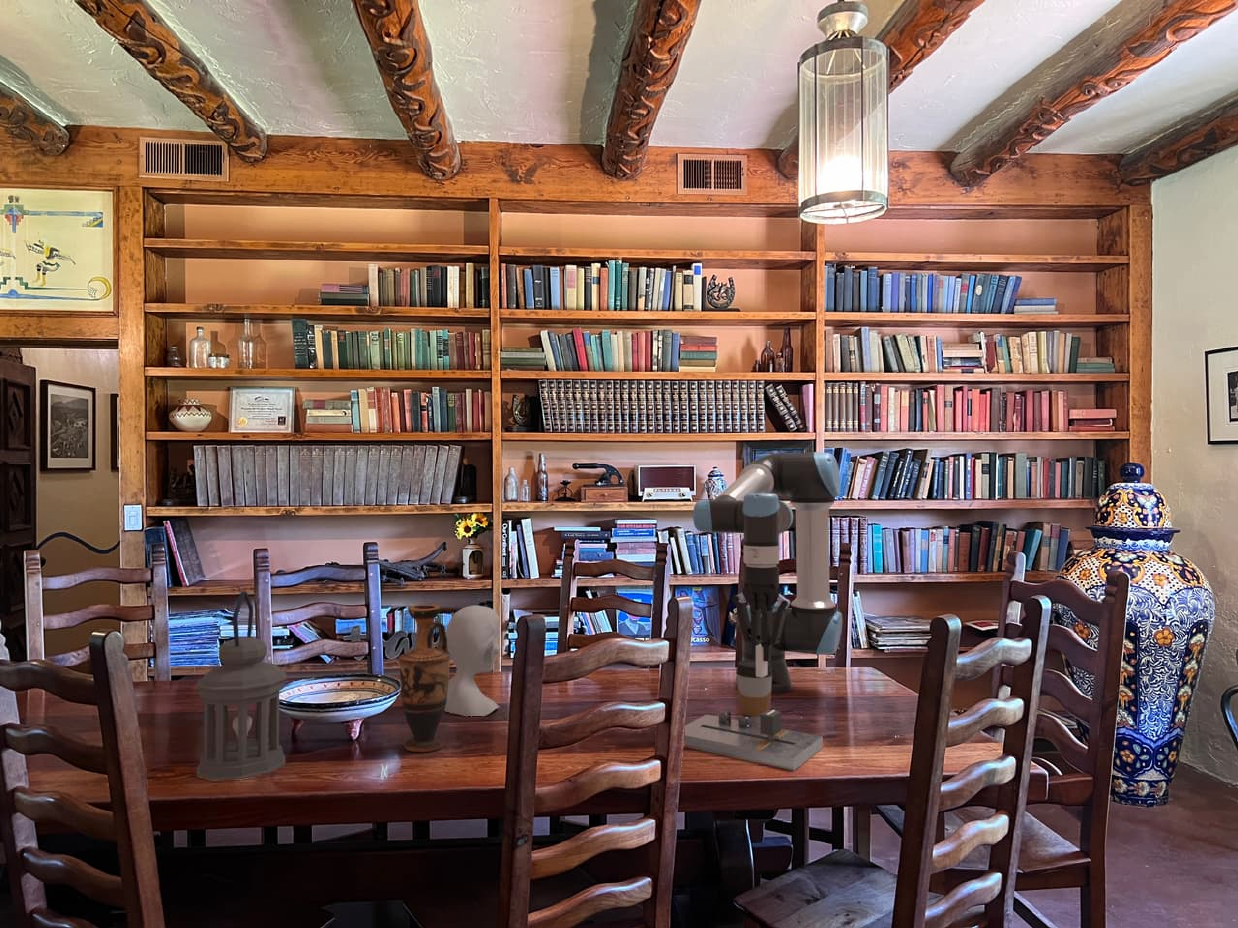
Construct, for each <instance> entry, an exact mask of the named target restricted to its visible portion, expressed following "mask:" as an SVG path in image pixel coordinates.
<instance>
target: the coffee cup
mask: <svg viewBox="0 0 1238 928" xmlns="http://www.w3.org/2000/svg"><path fill="white" fill-rule="evenodd" d="M735 673H736V677H737V679H738V688H737V697H738V698H737V699H738V712H739V715H750V716H751V723H754V724H759V725H760V714H762V713H764V712H766V711H767V710H771V702H772V701H771V700H772V699H771V697H772V694H771V681H772V675H773V673H772V668H771V666H770V663H768V675H766V676H764V677H756V660H744V661H742V660H741V661H739V662H738V663H737V667H736V672H735ZM739 715H738V716H739Z"/></svg>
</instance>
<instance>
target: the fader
mask: <svg viewBox="0 0 1238 928" xmlns="http://www.w3.org/2000/svg"><path fill="white" fill-rule="evenodd" d="M781 729H782V712H781V711H779V710H776V709H770V710H767V711H766V712H764V713H762V714H760V734H765V735H768V740H771V741H774V735H775V734H777V733H778V732H780V731H781Z"/></svg>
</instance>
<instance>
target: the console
mask: <svg viewBox="0 0 1238 928" xmlns="http://www.w3.org/2000/svg"><path fill="white" fill-rule="evenodd" d="M684 726H685V747H684V748H688V749H691V750H692V749H693V750H698V751H702V752H706V753H710V754H711V753H712V754H716V755H721V756H725V757H730V758H734V759H740V760H744V761H749V762H752V763H757V764H762V765H766V766H770V767H771V766H772V767H775V768H780V769H786V770H790V771H796V770H797V769H798V768H800V767H801V766H802V765H803V764H804V763H806V762H807V761H809V760H810V759H811V758H812V757H813V756H815V754H817V753H818V752H819V751H821V750H822V749H823V745H824V744H823V741H824V740H823V736H822V735H818V734H817V735H816V734H813V733H807V732H806V733H805V732H802V731H796V730H792V729H785V728H781V731H780V732H778V733H777V734H775V735H774V741H771V740H768V735H765V734H760V725H759V724H754V723H751V716H750V715H738V719H732V712H731V711H727V710H721V711H718V716H717V715H711V714H705V715H703V716H700V717H699V718H696V719H695V720H693V721H692V722H689V723H687V724H685V725H684Z"/></svg>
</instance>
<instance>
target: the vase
mask: <svg viewBox="0 0 1238 928" xmlns="http://www.w3.org/2000/svg"><path fill="white" fill-rule="evenodd" d="M441 608H442V607H441V606H440V605H436V604H417V605H411V606H409V607H407V610H408V613H409V615H410V617H411V619H413V620H414V621H415V623H416V645H415V647H414V649H413V650H412V651H411V650H410V652H405V653H403V654H400V655H399V656H398V664H399V675H400V676H399V677H400V688H401V689H400V691H401V695H400V696H401V701H402V708H403V714H404V717H405V719H406V722H407V724H408V727H409V729H410V731H411V733H412V737H411V738H409V739H407V740H406V741H405V743H404V749H405V750H406V751H408V752H412V753H422V754H423V753H430V752H432V753H433V752H436V751H438V750H441V749H442V748H443V747H445V744H446V742H445V739H444V738H443V737H442V736H440V735H436V734H437V730H438V728H439V725H440V723H441V721H442V718H443V715H444V713H445V712H444V710H445V706H446V701H447V694H448V682H449V680H450V665H451V664H450V663H451V657H450V656H451V655H450V653H449V651H448V648H447V637H446V632H447V631H446V628H445V625H444V624H443V623H442V622H441V621H440V622H439V621H438V620H435V619H436V618H438V615H439V613H440V612H441ZM437 628H438V635H439V636H438V637H439V639H438V644H437V646H436V647H435V646H434V634H435V631H436V629H437Z"/></svg>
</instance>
